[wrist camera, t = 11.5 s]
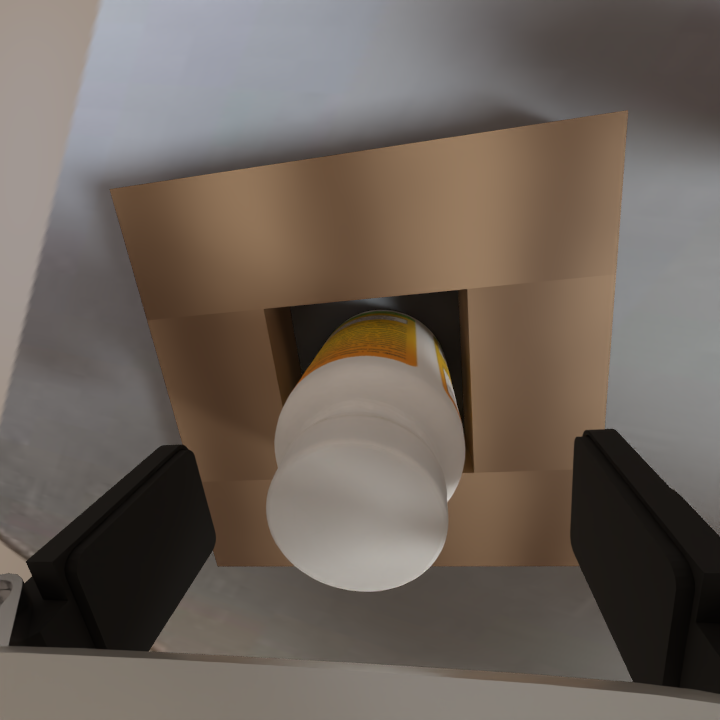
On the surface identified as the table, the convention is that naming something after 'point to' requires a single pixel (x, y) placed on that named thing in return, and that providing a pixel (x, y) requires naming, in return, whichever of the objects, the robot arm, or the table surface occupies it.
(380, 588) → the supplement bottle
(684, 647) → the robot arm
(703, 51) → the table surface
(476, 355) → the bore block
